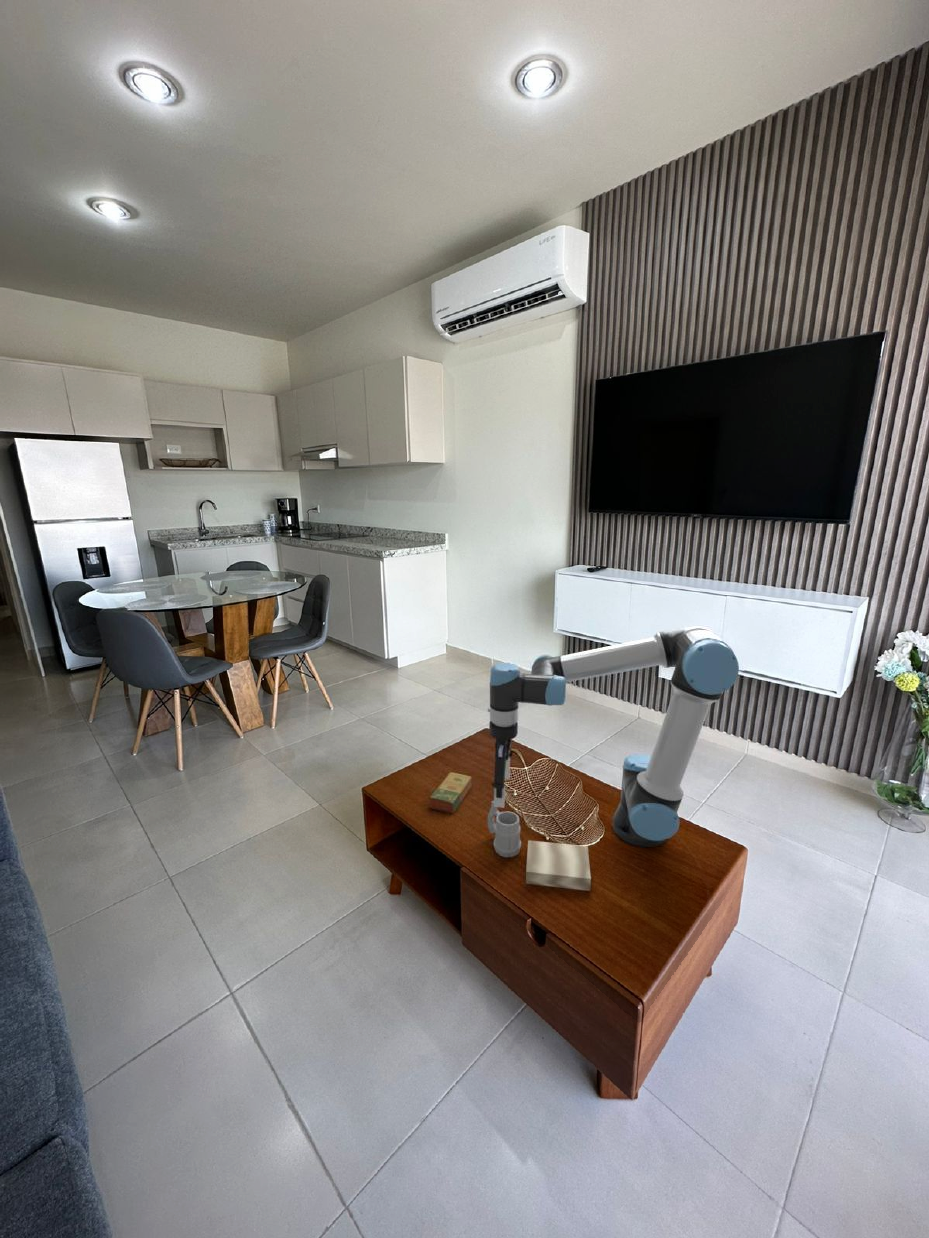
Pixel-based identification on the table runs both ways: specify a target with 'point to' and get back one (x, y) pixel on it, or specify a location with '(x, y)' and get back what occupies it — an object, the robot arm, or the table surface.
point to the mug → (505, 832)
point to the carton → (450, 792)
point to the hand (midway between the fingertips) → (502, 791)
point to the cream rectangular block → (558, 865)
